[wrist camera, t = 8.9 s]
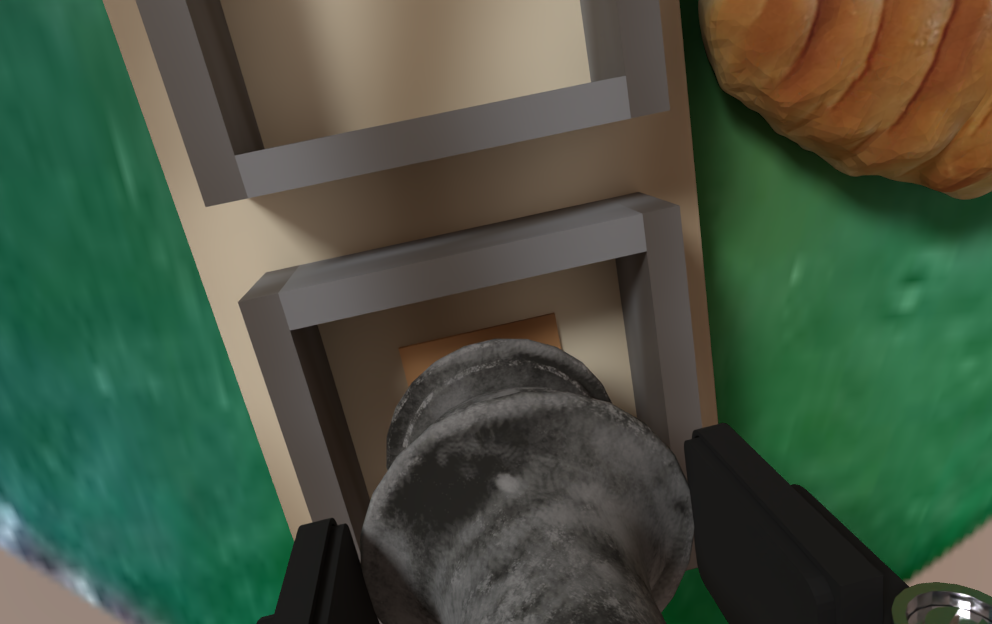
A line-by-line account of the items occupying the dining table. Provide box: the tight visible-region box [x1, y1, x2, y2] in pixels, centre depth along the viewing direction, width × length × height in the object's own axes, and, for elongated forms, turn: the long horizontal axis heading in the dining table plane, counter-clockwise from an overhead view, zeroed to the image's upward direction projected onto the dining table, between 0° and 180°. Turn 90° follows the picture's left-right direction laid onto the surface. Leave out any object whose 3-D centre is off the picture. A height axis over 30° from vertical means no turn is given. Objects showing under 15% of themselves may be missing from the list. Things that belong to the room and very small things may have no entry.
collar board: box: [103, 0, 718, 624], centre depth 14 cm, size 12×22×4 cm, turn 12°
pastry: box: [698, 0, 992, 200], centre depth 15 cm, size 9×7×4 cm
